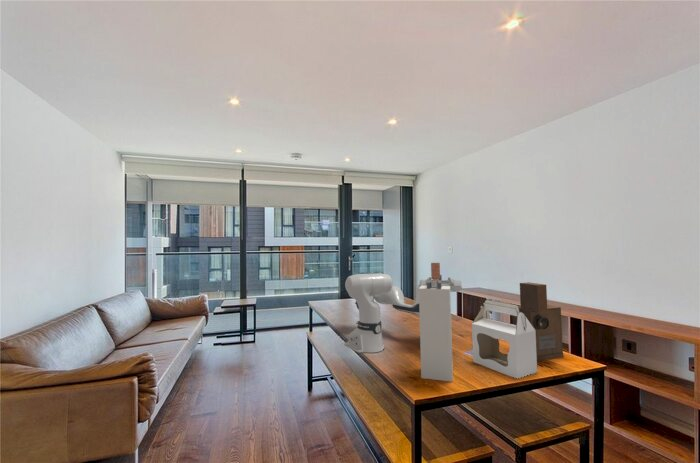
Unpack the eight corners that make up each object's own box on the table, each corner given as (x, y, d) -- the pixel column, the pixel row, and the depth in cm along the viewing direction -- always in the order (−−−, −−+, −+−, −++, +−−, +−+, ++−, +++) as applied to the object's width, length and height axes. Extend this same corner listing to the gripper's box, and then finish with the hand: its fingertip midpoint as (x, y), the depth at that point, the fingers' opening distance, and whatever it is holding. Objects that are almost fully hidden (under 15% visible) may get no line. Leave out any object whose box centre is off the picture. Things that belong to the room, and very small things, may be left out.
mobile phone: (494, 349, 158) (476, 356, 150) (494, 351, 158) (476, 358, 150) (480, 346, 164) (462, 351, 156) (480, 347, 164) (462, 353, 156)
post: (423, 368, 137) (421, 279, 139) (452, 371, 133) (449, 280, 135) (421, 378, 128) (418, 282, 129) (452, 381, 124) (449, 283, 125)
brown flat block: (434, 280, 155) (433, 261, 155) (441, 281, 154) (441, 261, 154) (429, 288, 130) (429, 264, 130) (438, 288, 129) (438, 264, 129)
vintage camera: (539, 365, 138) (535, 285, 140) (513, 355, 152) (510, 282, 154) (571, 360, 144) (568, 283, 146) (544, 350, 158) (541, 280, 159)
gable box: (472, 361, 144) (470, 300, 146) (491, 356, 150) (489, 297, 152) (518, 379, 125) (515, 308, 126) (538, 372, 131) (535, 304, 132)
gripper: (462, 296, 160) (462, 285, 149) (421, 294, 167) (418, 284, 156) (461, 284, 164) (461, 273, 153) (421, 283, 170) (418, 272, 159)
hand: (439, 278), depth 154 cm, fingers open, 8 cm apart
